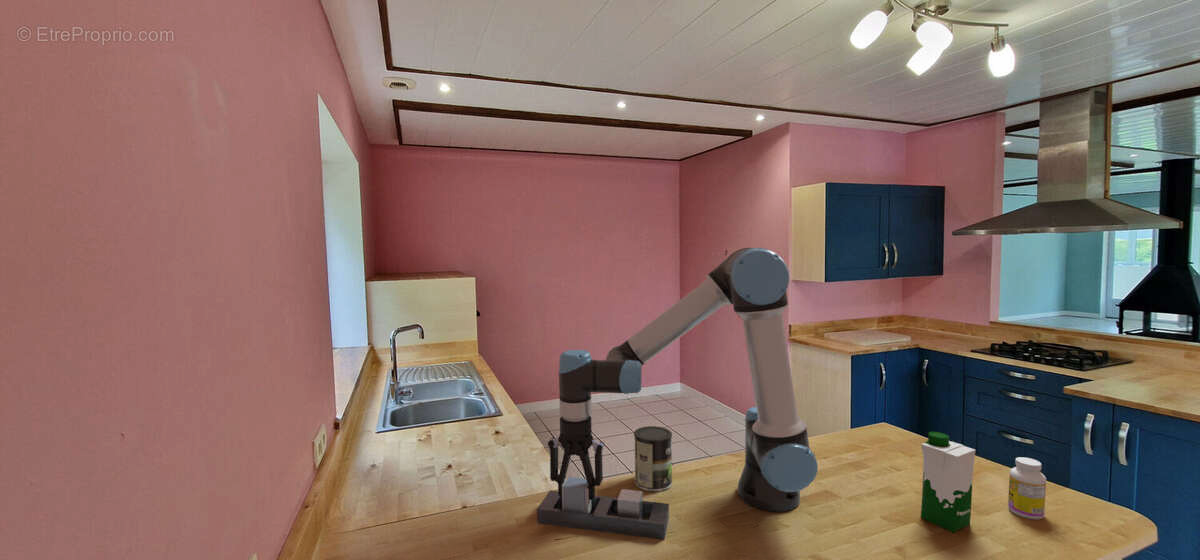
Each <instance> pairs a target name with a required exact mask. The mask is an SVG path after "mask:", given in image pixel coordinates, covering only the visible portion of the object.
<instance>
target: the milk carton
mask: <svg viewBox="0 0 1200 560" xmlns="http://www.w3.org/2000/svg"><path fill="white" fill-rule="evenodd" d="M927 436H928V439H927V440H926V441H924V442H922V443H921V444H920V446H921V452H922V457H923V459H922V460H923V461H922V462H923V466H922V467H923V468H922V469H923V470H922V471H923V472H922V494H921V508H920V510H921V511H920V518H921V519H923V520H925V521H927V522H929V523H932V524H934V525H936V526H938V527H941V528H942V529H944V530H946V531H949V532H951V533H955V532H957V531H959V530H962V529H963V528H965V527H967V526H970V525H971V515H972V502H973V501H972V499H973V498H972V496H973V477H974V464H975V457H976V451H977V450H976V449H974V448H971V447H969V446H965V445H963V444H961V443H957V442H955V441H950V436H949V435H948V434H946V433H944V432H939V431H929V432H928V435H927Z"/></svg>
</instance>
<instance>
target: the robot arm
mask: <svg viewBox="0 0 1200 560" xmlns="http://www.w3.org/2000/svg"><path fill="white" fill-rule="evenodd" d="M789 272H790V271H789V268H788V266H787V263H786V262H785V261H784V259H783V258H782V257H781V256H779V255H778V254H777V253H776V252H774V251H773V250H770V249H767V248H763V247H744V248H740V249H737V250H735V251H734V252H732V253H731V254H730V255H729V256H727V257H726V258H725V259H724V260H723V261H722V262H721V263H720V264H719V265H718V266H717V267H715V268H714V269H712V271H710V272H708V274H706V278H705V280H704V281H703V282H702V283H701V284H699V285H698V286H697V287H696V288H694V289H693V290H691V291H690V292H689V293H688V294H686V295H685V296H683V298H681V299H680V300H679V301H677V302H675V303H674V304H673V305H672V306H670V307H669V308H668V309H666V310H665V311H664V312H662V313H661V314H659V316H657V317H655V318H654V319H653V320H651V321H650V322H649V323H648V324H646V325H645V326H643V328H641V329H639V330H638V331H637V332H635V333H634V334H633V335H632V336H631V337H629V338H628V339H627V340H625V341H624V342H623V343H621V344H620V345H616V346H614V347H613V348H612V349H611V350H610V351H609V352H608V353H607V356H606V358H605V359H606V360H605V359H603V360H602V359H601V360H600V359H592V356H591V352H589V351H588V350H583V349H570V350H566V351H563V352H561V354H560V355H559V364H558V365H559V366H558V384H559V385H558V388H559V390H558V391H559V416H560V418H559V436H558V437H554V436H553V437H551V438H550V439H549V441H548V442H547V445H548V448H549V455H550V456H549V457H550V459H549V467H550V468H549V471H550V472H549V474H550V476H549V477H550V478H549V479H550V481H551V482H556V483H557V489H558V490H557V491H558V495H559V496H562V508H561V510H564V498H563V487H564V485H565V483H566V482H567V480H568V479H567V480H566V478H567V473H568V470H569V466H570V465H569V464H570V461H571V457H572V456H577V457H579V460H580V462H581V465H582V468H583V472H584V476H585V479H586V480H587V485H586V487H585V512H586V513H591V511H590V510H591V500H593V499H594V497H595V495H596V487H599V486H601V484H602V482H603V480H604V479H603V477H604V476H603V473H604V472H603V449H604V447H605V443H604V442H603V441H599V442H598V441H597V440H595V439H594V437H593V433H592V430H593V429H592V416H591V415H592V393H601V394H602V393H604V394H608V393H609V394H624V395H627V394H639V392H641V390H642V383H643V381H642V380H643V379H642V372H643V371H642V366H643V365H644V364H646V363H647V362H649V361H650V360H651V359H653V358H655V356H657V355H658V354H660V353H661V352H662V351H663V350H665V349H667V348H668V347H669V346H670V345H672V344H673V343H675V342H676V341H677V340H679V339H680V338H682V337H683V336H684V335H686V334H687V333H688V332H690V331H691V330H692V329H693V328H695V327H696V326H698V325H700V323H701V322H703V321H705V320H706V319H707V318H708V317H710V316H711V315H712V314H714V313H716V312H717V311H718V310H719V309H721V308H722V307H723V306H733V311H734V313H735V314H736V315H738V316H739V317H741V318H742V323H743V324H742V325H743V330H744V338H745V345H746V349H747V351H746V352H747V358H748V363H749V370H750V375H751V376H750V377H751V382H752V387H753V388H752V389H753V395H754V402H755V406H752V407H750V408H748V409H747V410H746V412H745V419H744V422H745V429H744V430H745V432H744V433H745V434H744V435H745V436H744V437H745V440H744V442H745V445H744V446H745V449H744V450H745V455H744V457H745V459H744V462H745V463H744V467H743V469H742V472H741V475H740V477H739V480H738V483H737V495H738V496H739V498H740V499H741V500H742V501H743V503H746V504H747V505H748V506H751V507H753V508H756V509H759V510H763V511H766V512H767V511H769V512H777V513H778V512H788V511H791V510H794V509H796V508H797V507H798V506H799V505H800V502H801V493H800V491H802V490H804V489H806V488H808V487H809V486H810V484H812V483H813V482H814V481H815V479H816V477H817V476H818V475H817V474H818V471H819V470H818V468H819V466H818V461H817V458H816V455H815V454H814V452H813V451H812V450H811V447H810V442H809V441H810V440H809V435H808V429H807V423H806V422H805V421H804V420H803V419H801V418H800V417H799V416H798V410H797V405H796V397H795V391H794V384H793V377H792V371H791V364H790V357H789V351H788V344H787V338H786V330H785V324H784V318H783V312H784V311H785V310H786V309H787V308H788V306H789V302H788V295H787V289H788V287H789V285H790V273H789ZM559 446H561V447H562V449H563V451H564V452H563V455H562V462H561V467H560V470H559ZM591 447H592V449H593V451H594V470H593V466H592V463H591V459H590V453H589V452H590V451H589V449H590V448H591Z"/></svg>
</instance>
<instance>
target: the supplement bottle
mask: <svg viewBox="0 0 1200 560" xmlns="http://www.w3.org/2000/svg"><path fill="white" fill-rule="evenodd" d="M1014 461H1015V462H1014V463H1015V466H1014V467H1012V468H1011V469H1009V478H1008V479H1009V481H1008V495H1007V496H1008V500H1007V503H1008V504H1007V506H1008V509H1009V510H1010V512H1012V513H1013V514H1014V515H1017V516H1019V517H1020V518H1021V517H1022V518H1024V519H1030V520H1041V519H1044V517H1045V514H1046V496H1047V495H1046V493H1047V477H1046V475H1044V474H1043V473H1042V472H1041V470H1042V463H1041V462H1040V461H1039V460H1037V459H1034V458H1030V457H1023V456H1022V457H1021V456H1020V457H1019V456H1018V457H1015V460H1014Z"/></svg>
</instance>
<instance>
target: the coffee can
mask: <svg viewBox="0 0 1200 560" xmlns="http://www.w3.org/2000/svg"><path fill="white" fill-rule="evenodd" d="M633 436H634V484H635V485H636V487H637V488H639V489H641V490H643V491H646V492H652V493H653V492H656V493H657V492H663V490H664V491H666V489H667V490H669V489H670V488H671V487H672V485H673V479H672V478H673V476H672V475H673V474H672V473H673V472H672V471H673V470H672V465H673V464H672V463H673V462H672V460H673V459H672V450H673V449H672V445H673V444H672V436H673V433H672V431H671V430H670V429H668V428H666V427H661V426H651V425H650V426H642V427H639V428H637V429H635V430H634V432H633Z"/></svg>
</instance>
